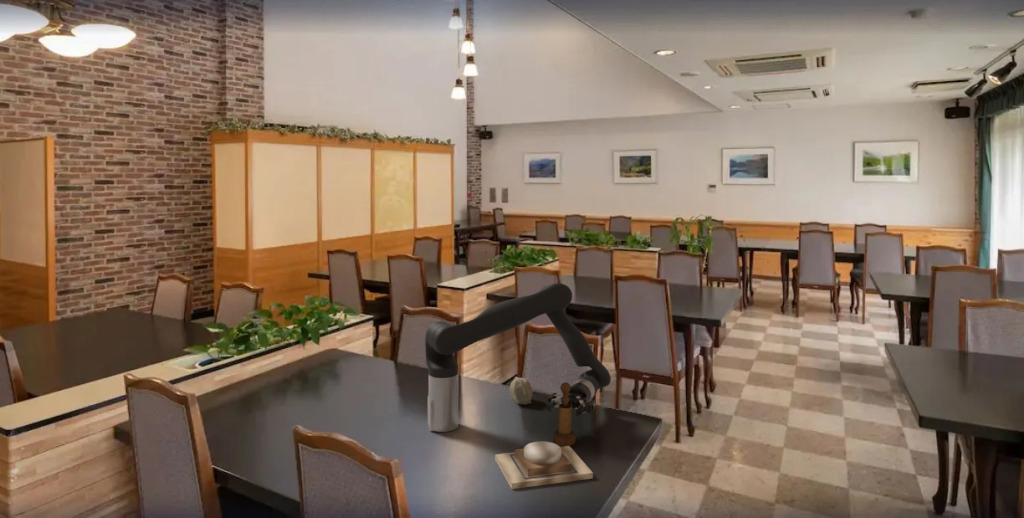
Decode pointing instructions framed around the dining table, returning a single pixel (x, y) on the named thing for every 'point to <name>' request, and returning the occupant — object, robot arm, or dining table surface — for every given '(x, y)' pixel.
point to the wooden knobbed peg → (564, 420)
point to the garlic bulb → (521, 391)
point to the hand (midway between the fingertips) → (563, 410)
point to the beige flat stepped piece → (542, 465)
